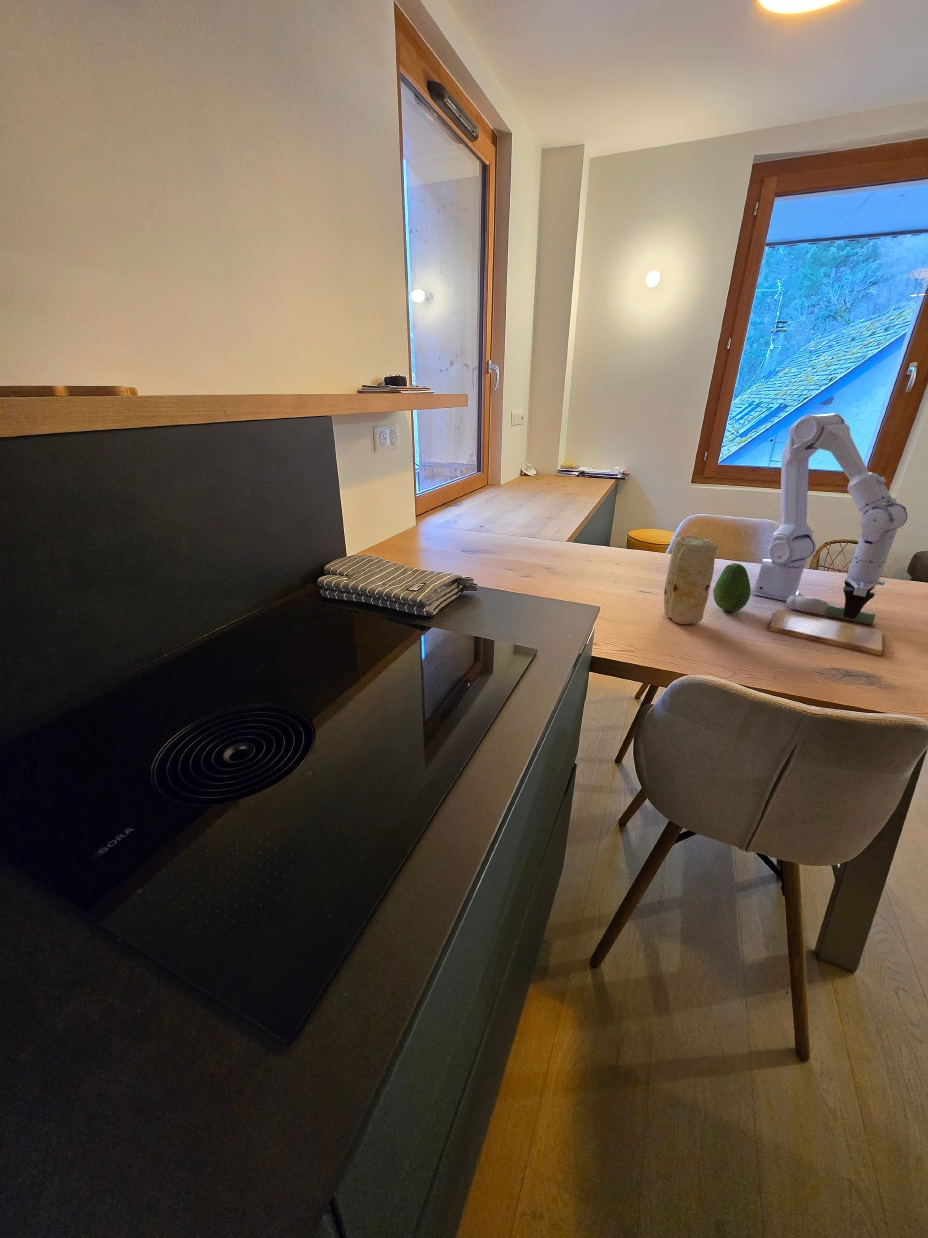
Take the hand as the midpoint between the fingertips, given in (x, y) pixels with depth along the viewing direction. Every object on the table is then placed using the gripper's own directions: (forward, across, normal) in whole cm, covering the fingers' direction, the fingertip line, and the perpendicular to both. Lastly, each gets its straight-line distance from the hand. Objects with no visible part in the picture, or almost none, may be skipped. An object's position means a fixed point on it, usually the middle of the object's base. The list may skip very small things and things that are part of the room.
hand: (849, 614), depth 115 cm
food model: (+2, -22, +32) cm, 39 cm away
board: (+1, -11, +4) cm, 12 cm away
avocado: (+2, -10, +24) cm, 26 cm away
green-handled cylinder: (+1, 0, +4) cm, 4 cm away
